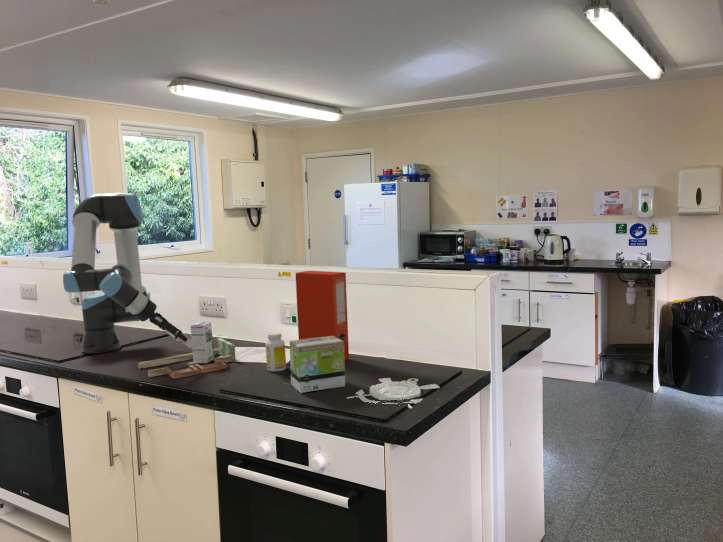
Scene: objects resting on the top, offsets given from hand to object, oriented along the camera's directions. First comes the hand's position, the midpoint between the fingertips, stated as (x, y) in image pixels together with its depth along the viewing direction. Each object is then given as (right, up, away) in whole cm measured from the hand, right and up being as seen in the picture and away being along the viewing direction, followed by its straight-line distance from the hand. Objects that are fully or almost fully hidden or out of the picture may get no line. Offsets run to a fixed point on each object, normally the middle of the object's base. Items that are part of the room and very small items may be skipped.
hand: (186, 341), depth 221 cm
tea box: (+51, -10, -31) cm, 61 cm away
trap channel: (+2, -9, -2) cm, 9 cm away
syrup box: (+5, -8, +4) cm, 10 cm away
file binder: (+51, -6, +1) cm, 51 cm away
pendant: (+74, -11, -40) cm, 85 cm away
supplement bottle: (+35, -9, -11) cm, 37 cm away
